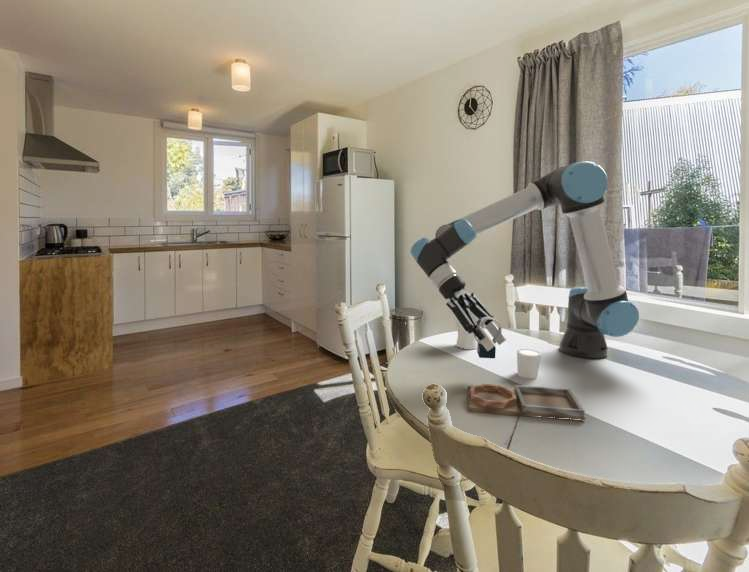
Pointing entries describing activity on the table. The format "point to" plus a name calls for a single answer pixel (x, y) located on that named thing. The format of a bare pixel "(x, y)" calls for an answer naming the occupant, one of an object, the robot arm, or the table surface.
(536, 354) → the white cylinder
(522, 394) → the sorting board
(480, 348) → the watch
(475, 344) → the cup
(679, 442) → the table surface
